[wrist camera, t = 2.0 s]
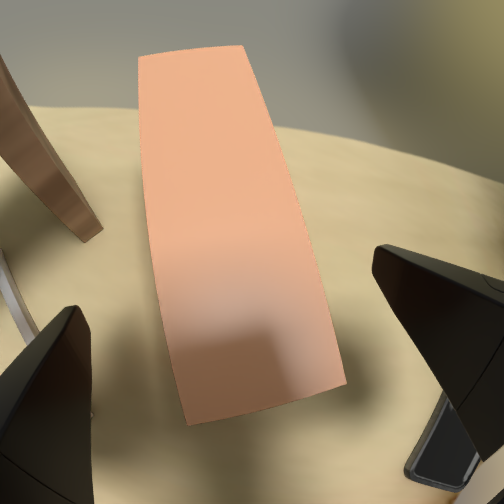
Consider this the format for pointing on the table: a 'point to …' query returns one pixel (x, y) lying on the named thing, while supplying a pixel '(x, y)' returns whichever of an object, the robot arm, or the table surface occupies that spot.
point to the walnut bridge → (36, 185)
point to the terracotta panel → (228, 241)
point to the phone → (443, 452)
